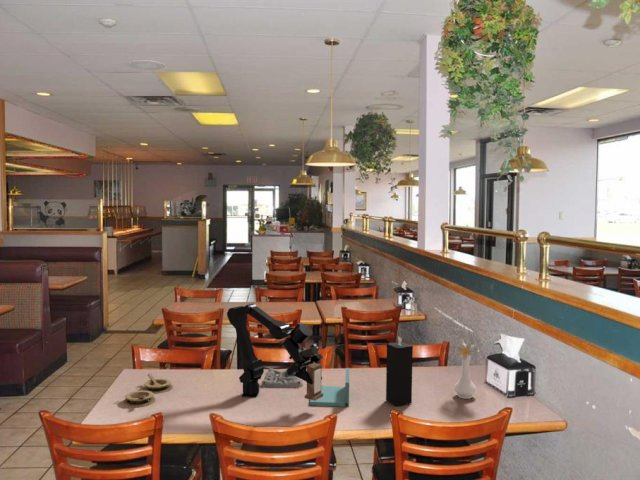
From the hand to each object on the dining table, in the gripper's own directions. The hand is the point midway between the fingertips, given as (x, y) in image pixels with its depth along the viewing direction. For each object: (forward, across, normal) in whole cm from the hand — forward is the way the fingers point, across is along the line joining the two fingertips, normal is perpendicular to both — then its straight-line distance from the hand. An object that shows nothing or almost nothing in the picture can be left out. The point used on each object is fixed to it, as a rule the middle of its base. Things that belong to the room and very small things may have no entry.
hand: (316, 381), depth 220 cm
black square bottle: (+25, +28, -7) cm, 38 cm away
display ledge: (+6, +17, +12) cm, 21 cm away
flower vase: (+39, +52, -22) cm, 68 cm away
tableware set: (-40, -26, +60) cm, 77 cm away
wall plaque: (-16, +25, +34) cm, 45 cm away
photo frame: (+4, 0, +6) cm, 7 cm away
